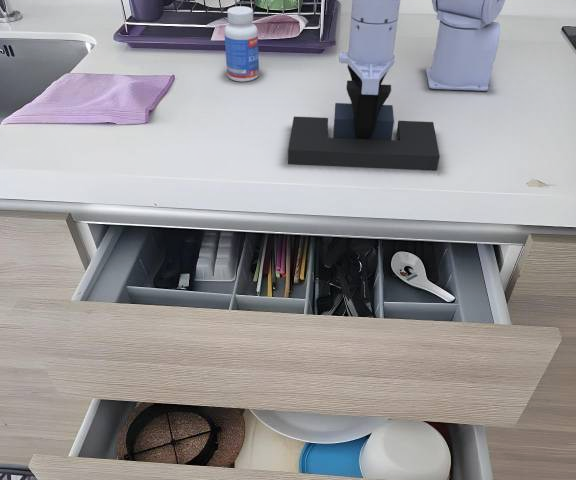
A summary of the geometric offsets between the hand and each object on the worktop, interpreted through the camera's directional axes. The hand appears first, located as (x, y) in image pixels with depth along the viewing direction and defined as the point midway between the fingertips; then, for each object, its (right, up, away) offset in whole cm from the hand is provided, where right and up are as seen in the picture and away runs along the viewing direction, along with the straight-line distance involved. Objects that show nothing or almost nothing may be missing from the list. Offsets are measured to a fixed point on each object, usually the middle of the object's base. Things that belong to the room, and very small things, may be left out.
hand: (363, 127), depth 81 cm
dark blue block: (0, -1, +1) cm, 1 cm away
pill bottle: (-18, +16, +17) cm, 30 cm away
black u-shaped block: (0, -3, 0) cm, 3 cm away
